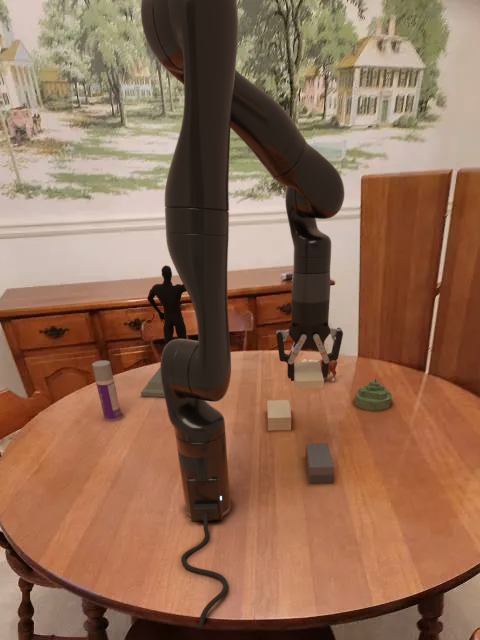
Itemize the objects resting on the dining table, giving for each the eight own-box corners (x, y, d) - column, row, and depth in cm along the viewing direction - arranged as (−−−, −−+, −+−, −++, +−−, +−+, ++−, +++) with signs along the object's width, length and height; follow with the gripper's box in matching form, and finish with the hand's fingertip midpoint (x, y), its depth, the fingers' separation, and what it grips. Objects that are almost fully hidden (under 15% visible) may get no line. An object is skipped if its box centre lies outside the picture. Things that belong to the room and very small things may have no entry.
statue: (221, 375, 159) (212, 249, 137) (207, 399, 144) (195, 263, 122) (160, 373, 162) (142, 250, 139) (141, 396, 147) (117, 263, 125)
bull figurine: (295, 384, 151) (295, 358, 146) (332, 377, 155) (334, 350, 150) (302, 389, 148) (302, 362, 143) (339, 381, 152) (342, 355, 147)
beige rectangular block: (323, 388, 103) (324, 380, 101) (294, 389, 103) (295, 380, 102) (319, 369, 111) (319, 361, 110) (292, 370, 111) (292, 362, 110)
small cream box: (291, 430, 127) (291, 417, 125) (268, 430, 127) (267, 417, 125) (288, 412, 136) (289, 399, 134) (267, 412, 136) (267, 400, 134)
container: (100, 419, 135) (87, 364, 126) (112, 412, 139) (100, 359, 129) (114, 422, 134) (101, 367, 124) (125, 415, 137) (114, 361, 127)
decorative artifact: (368, 413, 134) (397, 406, 137) (371, 388, 129) (401, 381, 133) (347, 400, 141) (376, 393, 144) (350, 376, 136) (379, 370, 140)
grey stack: (332, 483, 107) (333, 467, 104) (309, 483, 107) (310, 467, 104) (326, 458, 115) (327, 442, 113) (305, 458, 116) (305, 443, 113)
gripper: (274, 302, 94) (274, 387, 104) (349, 299, 93) (342, 385, 104) (273, 292, 99) (274, 374, 110) (344, 290, 99) (338, 372, 110)
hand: (307, 379), depth 107 cm, fingers closed on beige rectangular block, 6 cm apart
